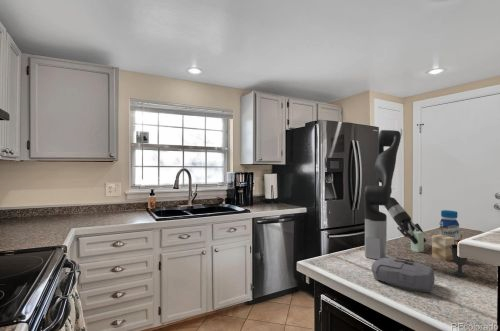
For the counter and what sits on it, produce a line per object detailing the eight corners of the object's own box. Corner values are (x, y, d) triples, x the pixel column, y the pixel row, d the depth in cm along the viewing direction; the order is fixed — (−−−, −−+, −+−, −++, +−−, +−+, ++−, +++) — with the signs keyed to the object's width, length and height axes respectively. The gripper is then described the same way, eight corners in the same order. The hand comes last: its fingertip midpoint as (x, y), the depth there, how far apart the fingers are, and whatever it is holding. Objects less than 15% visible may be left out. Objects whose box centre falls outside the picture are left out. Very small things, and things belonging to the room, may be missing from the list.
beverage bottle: (458, 249, 137) (458, 210, 138) (460, 253, 130) (460, 212, 130) (438, 246, 142) (438, 209, 142) (439, 250, 135) (439, 211, 135)
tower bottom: (454, 259, 121) (454, 248, 121) (445, 261, 119) (445, 249, 119) (440, 255, 127) (440, 245, 127) (432, 257, 125) (432, 246, 125)
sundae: (466, 272, 106) (466, 234, 106) (474, 278, 99) (474, 238, 100) (446, 270, 108) (446, 233, 108) (453, 276, 101) (453, 237, 102)
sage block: (423, 251, 133) (423, 232, 134) (418, 252, 132) (418, 232, 132) (416, 249, 137) (416, 230, 137) (410, 249, 136) (410, 231, 136)
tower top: (454, 248, 121) (454, 237, 121) (445, 249, 119) (445, 238, 119) (440, 245, 127) (440, 234, 127) (432, 246, 125) (432, 235, 125)
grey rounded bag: (436, 283, 95) (376, 269, 108) (436, 260, 95) (376, 249, 108) (432, 298, 84) (365, 281, 96) (432, 272, 84) (365, 258, 97)
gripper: (394, 211, 139) (415, 240, 128) (413, 210, 145) (435, 237, 133) (385, 219, 144) (405, 248, 133) (404, 218, 149) (425, 245, 138)
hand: (420, 242), depth 133 cm, fingers open, 5 cm apart
